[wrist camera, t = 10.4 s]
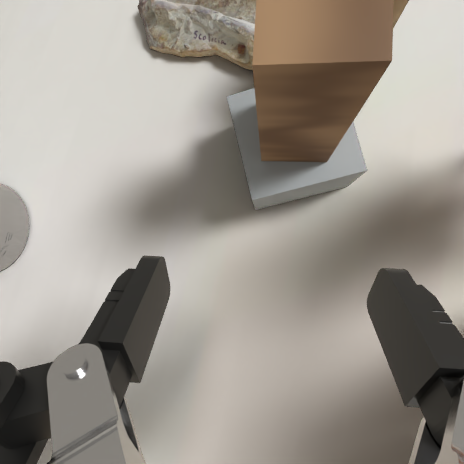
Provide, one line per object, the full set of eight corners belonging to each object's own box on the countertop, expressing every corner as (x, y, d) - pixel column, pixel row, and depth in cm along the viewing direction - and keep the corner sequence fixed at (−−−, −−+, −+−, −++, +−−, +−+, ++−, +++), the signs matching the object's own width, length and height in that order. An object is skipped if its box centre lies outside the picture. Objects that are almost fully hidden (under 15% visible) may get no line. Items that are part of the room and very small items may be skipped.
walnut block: (261, 161, 19) (252, 65, 9) (264, 100, 19) (260, -56, 10) (326, 162, 19) (391, 60, 9) (329, 99, 19) (395, -69, 9)
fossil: (343, -11, 25) (353, -49, 22) (312, 87, 24) (318, 62, 21) (165, -37, 27) (152, -73, 25) (133, 50, 27) (116, 23, 24)
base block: (255, 210, 24) (252, 200, 19) (235, 126, 25) (226, 96, 20) (346, 187, 23) (367, 170, 18) (322, 101, 24) (336, 62, 19)
